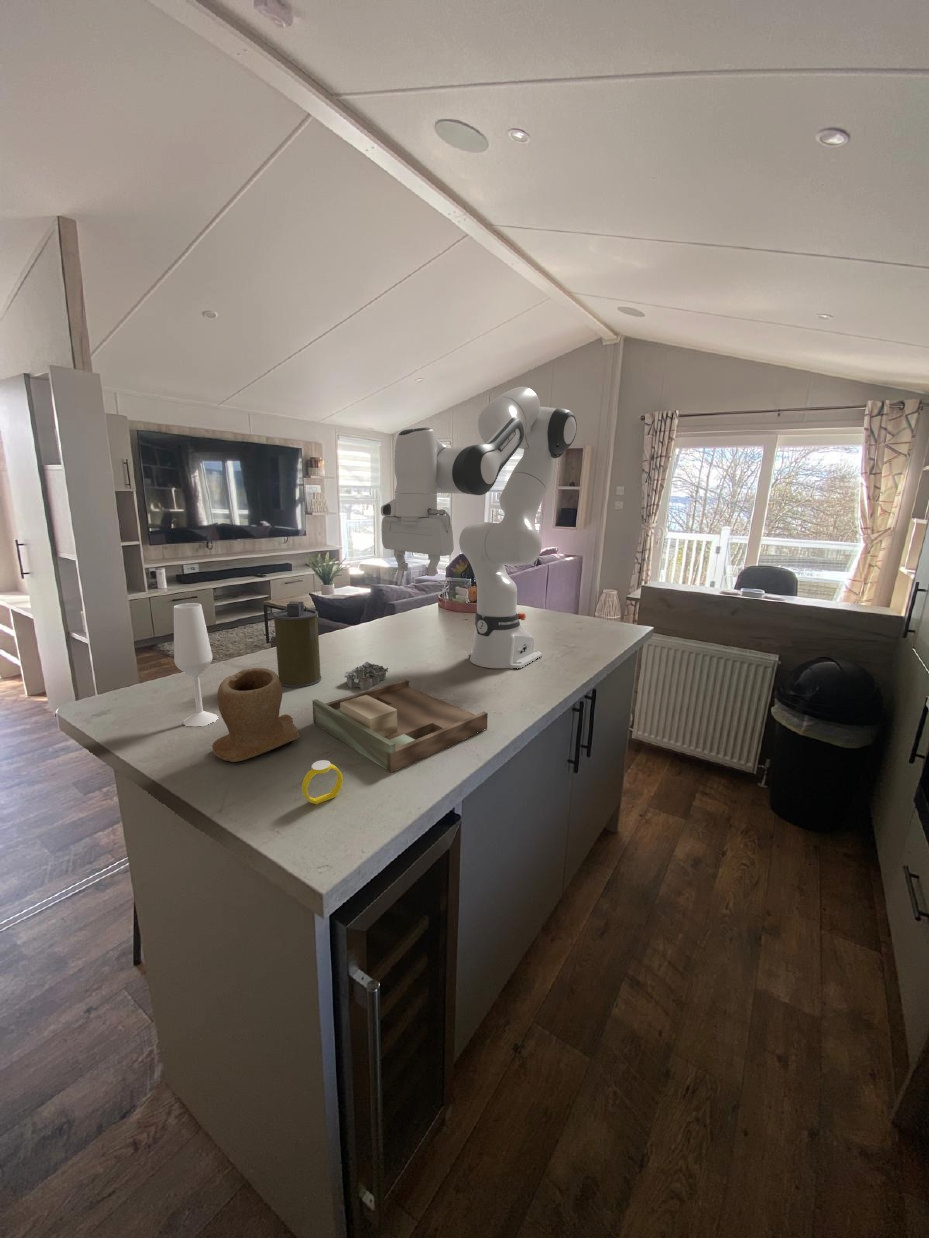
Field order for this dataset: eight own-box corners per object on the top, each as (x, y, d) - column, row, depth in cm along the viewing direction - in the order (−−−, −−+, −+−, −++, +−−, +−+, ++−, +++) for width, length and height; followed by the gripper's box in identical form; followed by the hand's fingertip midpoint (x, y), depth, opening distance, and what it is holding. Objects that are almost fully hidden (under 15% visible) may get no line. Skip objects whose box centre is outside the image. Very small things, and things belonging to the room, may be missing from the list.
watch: (309, 812, 73) (304, 776, 72) (302, 803, 75) (296, 768, 74) (346, 795, 77) (342, 761, 75) (338, 787, 79) (334, 754, 77)
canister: (314, 688, 120) (309, 607, 115) (271, 687, 120) (264, 606, 116) (327, 673, 131) (323, 598, 126) (287, 672, 131) (282, 597, 126)
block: (366, 715, 101) (366, 694, 100) (397, 731, 94) (397, 709, 93) (341, 724, 97) (340, 702, 96) (370, 742, 90) (370, 718, 89)
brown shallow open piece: (406, 693, 118) (406, 673, 117) (487, 729, 100) (487, 705, 99) (313, 723, 101) (312, 700, 100) (391, 772, 84) (390, 745, 82)
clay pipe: (233, 776, 82) (225, 691, 78) (205, 751, 90) (196, 672, 86) (316, 745, 93) (311, 668, 89) (284, 725, 100) (279, 654, 97)
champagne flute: (223, 721, 102) (211, 606, 96) (186, 730, 97) (171, 610, 92) (213, 710, 107) (201, 600, 101) (178, 719, 102) (164, 604, 97)
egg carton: (366, 692, 119) (366, 676, 118) (341, 686, 122) (340, 671, 121) (391, 678, 128) (391, 663, 127) (367, 673, 131) (366, 658, 131)
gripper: (461, 509, 100) (460, 577, 104) (398, 507, 114) (399, 567, 118) (437, 509, 96) (437, 580, 99) (375, 507, 110) (377, 569, 113)
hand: (416, 573), depth 108 cm, fingers open, 8 cm apart
